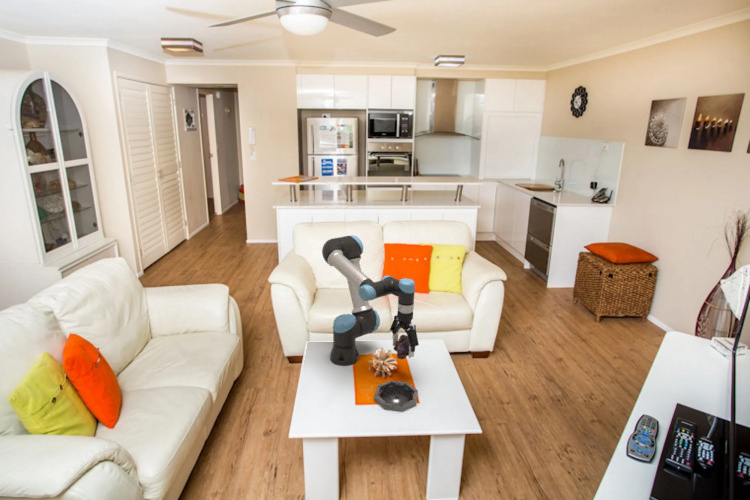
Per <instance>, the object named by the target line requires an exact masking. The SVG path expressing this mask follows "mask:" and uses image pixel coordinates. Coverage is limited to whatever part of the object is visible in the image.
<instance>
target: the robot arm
mask: <svg viewBox="0 0 750 500" xmlns="http://www.w3.org/2000/svg"><path fill="white" fill-rule="evenodd" d="M363 252H364V245H363V242H362V240H361V238H359V237H358V236H357V235H354V234H353V235H351V234H350V235H345V236H339V237H334V238H330V239H328V240H326V241H325V243H324V244H323V246H322V250H321V253H322V258H323V260H324V261H325V263H326V264H327V265H329V267H334V268H335V269H336V270H337V271H338V272H339V273H341V275H343V276H344V277H345V278H346V280H347V286H348V289H349V293H350V295H349V296H350V298H351V303H352V307H353V309H352V310H351V313H347V314H346V313H343V314H339V315H337V316H336V317H335V318H334V320H333V325H332V330H333V331H332V334H333V340H332V341H333V345H332V348H331V351H330V353H329V357H330V358H329V359H330V361H331V363H333V364H334V365H337V366H350V365H353V364H355V363H357V362H358V361H359V358H360V357H359V350H358V348H357V345H356V340H357V338H360V337H362V336H365V335H368V334H369V335H370V334H372V333H374V332H376V331H377V330H378V329H379V327H380V324H381V318H380V314H379V313H378V312H377V310H375V309H374V308H373V306H372V305H370V302H369V301H373V300H376V299H379V298H383V297H386V296H389V295H393V296H395V297H397V299H398V300H397V312H396V313H397V314H396V315H394V317H393V321H392V324H391V326H390V328H389V330H390V331H391V333H392V347H395V343H396V341H398V340H399V331H400V330H401V329H402V330H404V332H405V334H406V336H408V339H409V342H410V345H409V356H408V358H409V359H410V358H413V357H414V356H415V351H416V347H418V346H419V340H418V335H417V334H418V333H417V329H416V328H417V325H416V324H412V321H413V320H414V305H415V293H416V292H415V291H416V283H415V280H413V279H411V278H406V277H405V278H401V279H398V278H395V277H394V276H392V275H391V276H390V275H384V276H383V277H382V278H381V279H380V280H379V281H378V280H377V281H374V280H372V279H371V278H370V277H369V276H367V275H366V273H364V272H363V271H362V268H361V264H360V261H361V260H362V256H361V255H362V254H363ZM412 342H413V343H412Z"/></svg>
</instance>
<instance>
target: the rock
mask: <svg viewBox="0 0 750 500" xmlns="http://www.w3.org/2000/svg"><path fill="white" fill-rule="evenodd" d="M412 343H413V342H412ZM409 345H410V342H409V339H408V336H407V334H406V335H405V334H402V335H401V334H400V336H399V337H398V341H396V343H395V346H393V351H395V352H396V353H397V354H396V358H397V359H399V360H405V359H406V358H407V357H409Z"/></svg>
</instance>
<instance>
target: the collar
mask: <svg viewBox="0 0 750 500" xmlns="http://www.w3.org/2000/svg"><path fill="white" fill-rule="evenodd" d="M376 386H377V387H376V389H375V392H374V396H373V401H374V402H376V403H377V404H378V405H379V406H380V407H381V408H382V409H383V410H388V411H395V412H404V411H406V410H409V409H412V408H414V407H416V406H417V402H418V396H419V395H418V394H419V391H418V389H417V388H415V387H414V386H413V385H412V384H410V383H409V382H407V381H398V380H397V381H396V380H389V381H386V382H382V383H381V384H378V385H376Z"/></svg>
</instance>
